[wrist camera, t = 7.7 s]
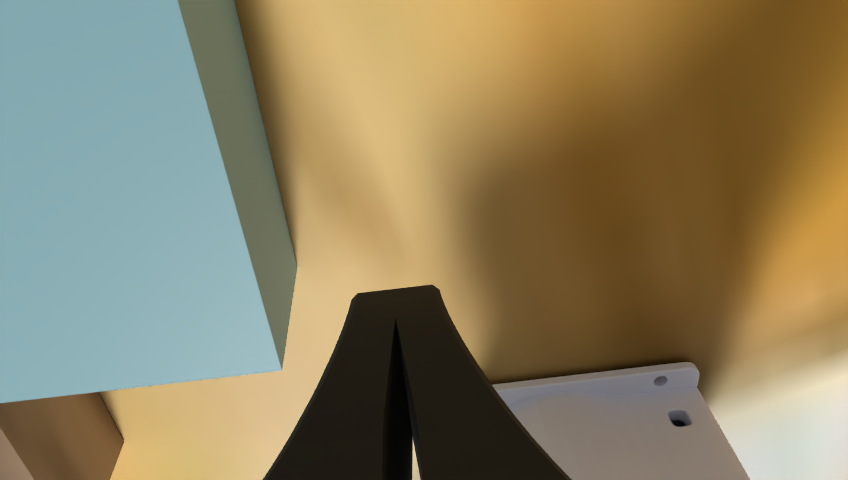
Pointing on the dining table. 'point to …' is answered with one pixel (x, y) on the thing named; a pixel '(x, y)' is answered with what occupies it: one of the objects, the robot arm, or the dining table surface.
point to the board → (58, 439)
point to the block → (134, 200)
